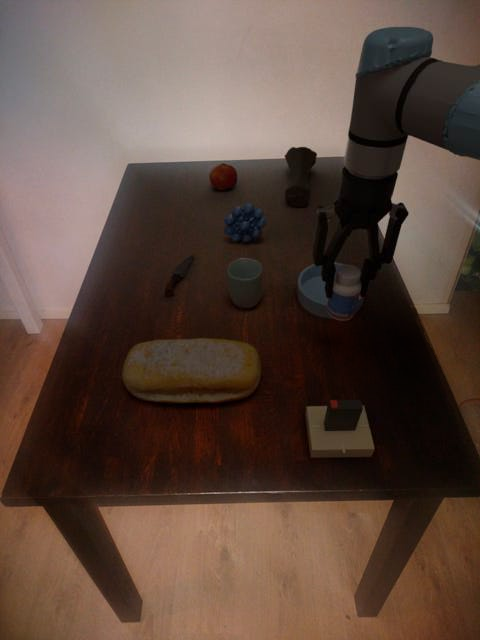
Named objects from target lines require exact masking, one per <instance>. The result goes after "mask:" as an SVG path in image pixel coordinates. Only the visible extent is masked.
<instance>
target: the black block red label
mask: <svg viewBox="0 0 480 640" xmlns="http://www.w3.org/2000/svg"><path fill="white" fill-rule="evenodd" d="M362 405H363V402H362V399H329V400H328V401H327V405H326V406H327V410H326V414H325V419H324V428H325V431H355V430H356V427H357V424H358V421H359V418H360V416H361V413H362V410H363V406H362Z"/></svg>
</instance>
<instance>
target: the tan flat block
mask: <svg viewBox="0 0 480 640" xmlns="http://www.w3.org/2000/svg"><path fill="white" fill-rule="evenodd" d="M327 406H328V405H314V406H313V405H310V406H306V408H305V415H304V416H305V424H306V432H307V440H308V448H309V455H310V456H309V457H310V459H315V458H318V459H320V458H321V459H322V458H326V459H327V458H372V456H373V454H374V452H375V444H374V440H373V436H372V432H371V428H370V424H369V420H368V415H367V412H366V407H365V404H364V405H363V404H362V406H363V410H362V413H361V416H360V418H359V421H358V424H357V427H356V430H355V431H325V428H324V419H325V414H326V410H327Z"/></svg>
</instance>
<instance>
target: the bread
mask: <svg viewBox="0 0 480 640" xmlns="http://www.w3.org/2000/svg"><path fill="white" fill-rule="evenodd" d="M261 373H262V364H261V359H260V357H259V353H258V351H257V349H256V347H254V346H253V345H252V344H250V343H249V342H244V341H239V340H234V339H225V338H207V337H198V338H195V337H194V338H178V339H154V340H149V341H143V342H139V343H137V344H135V345H134V346H132V347H131V348H130V350H129V351H128V352H127V355H126V358H125V360H124V361H123V365H122V371H121V378H122V381H123V384H124V386H125V387H126V390H127V391H128V392H129V394H131V395H132V396H133V397H135V398H137V399H139V400H141V401H145V402H153V403H166V404H183V405H185V404H219V403H226V402H234V401H239V400H243V399H246V398H247V397H249V396H251V395H252V394H253V393H254V392H255V390H257V388H258V386H259V384H260V379H261Z"/></svg>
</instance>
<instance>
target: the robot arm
mask: <svg viewBox="0 0 480 640" xmlns="http://www.w3.org/2000/svg"><path fill="white" fill-rule="evenodd" d="M433 44H434V35H433V33H432V32H431V31H430V30H427V29H424V28H421V27H415V26H414V27H413V26H390V27H389V26H388V27H382V28H379V29H375V30H373V31H371V32H369V33H368V35H367V36H366V37H365V38H364V40H363V43H362V48H361V52H360V55H359V62H358V67H357V71H356V73H355V82H354V91H353V100H352V108H351V114H350V122H349V127H348V132H347V140H346V144H345V151H344V157H343V167H342V170H341V176H340V183H339V191H338V195H337V198H336V199H335V200H334V202H333V204H331V205H328V206H326V207H325V206H324V205H318V206H316V207H315V212H316V215H317V225H316V231H315V237H314V244H313V251H312V258H313V264H315V266H320V265H321V266H322V272H321V276H322V280H323V282H325V292H326V297H327V298H331V295H332V289H333V284H334V278H335V272H336V268H335V264H334V262H336V260H337V258H338V256H339V254H340V252H341V250H342V248H343V246H344V244H345V242H346V241H347V239H348V237H350V236H351V234H352V232H353V231H357V230H360V229H361V230H366V234H367V243H368V253H369V258H364V260H363V265H362V269H361V271H360V272H361V276H360V281H361V284H362V287H361V292H360V295H361V297H364V298H366V297H367V292H368V288H369V284H370V281H375V279H376V277H377V275H378V271H380V270H381V269H382V267H383V266H382V265H383V264H386V265H389V264H391V263H392V262H393V260H394V255H395V253H396V248H397V244H398V240H399V237H400V233H401V229H402V225H403V224H404V222H405V221H406V219H408V216H409V214H410V213H409V210H408V209H407V207H406V206H405V204H404V202H398V203H393V202H392V197H393V195H394V191H395V189H396V183H397V180H398V177H399V173H398V171H399V170H400V169H401V166H402V162H403V159H404V153H405V150H406V145H407V142H408V138H409V137H412V138H415V139H418V140H420V141H422V142H425V143H428V144H430V145H433V146H435V147H438V148H440V149H443V150H445V151H449V152H450V153H452V154H453V155H455V156H459V157H464V158H469V159H474V160H476V161H477V160H478V161H480V63H479V64H477V65H465V64H461V63H455V62H454V63H453V62H448V61H444V60H440V59H437V58H435V57H431V56H432V53H433V50H432V49H433ZM335 214H336V216H337V217H338V219H339V220H338V223H337V227H336V229H335V231H334V233H333V235H332V237H331V239H330V241H329V243H328V245H327V247H326V244H327V243H326V242H327V236H328V232H329V223H331V222H332V220H333V216H334V215H335ZM387 215H389V218H388V222H387V226H386V230H385V234H384V239H383V243H382V248H381V252H380V240H379V233H380V232H379V223H380V222H381V221H382V220H383V219H384V218H385V217H386V216H387ZM325 249H326V250H325Z"/></svg>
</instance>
